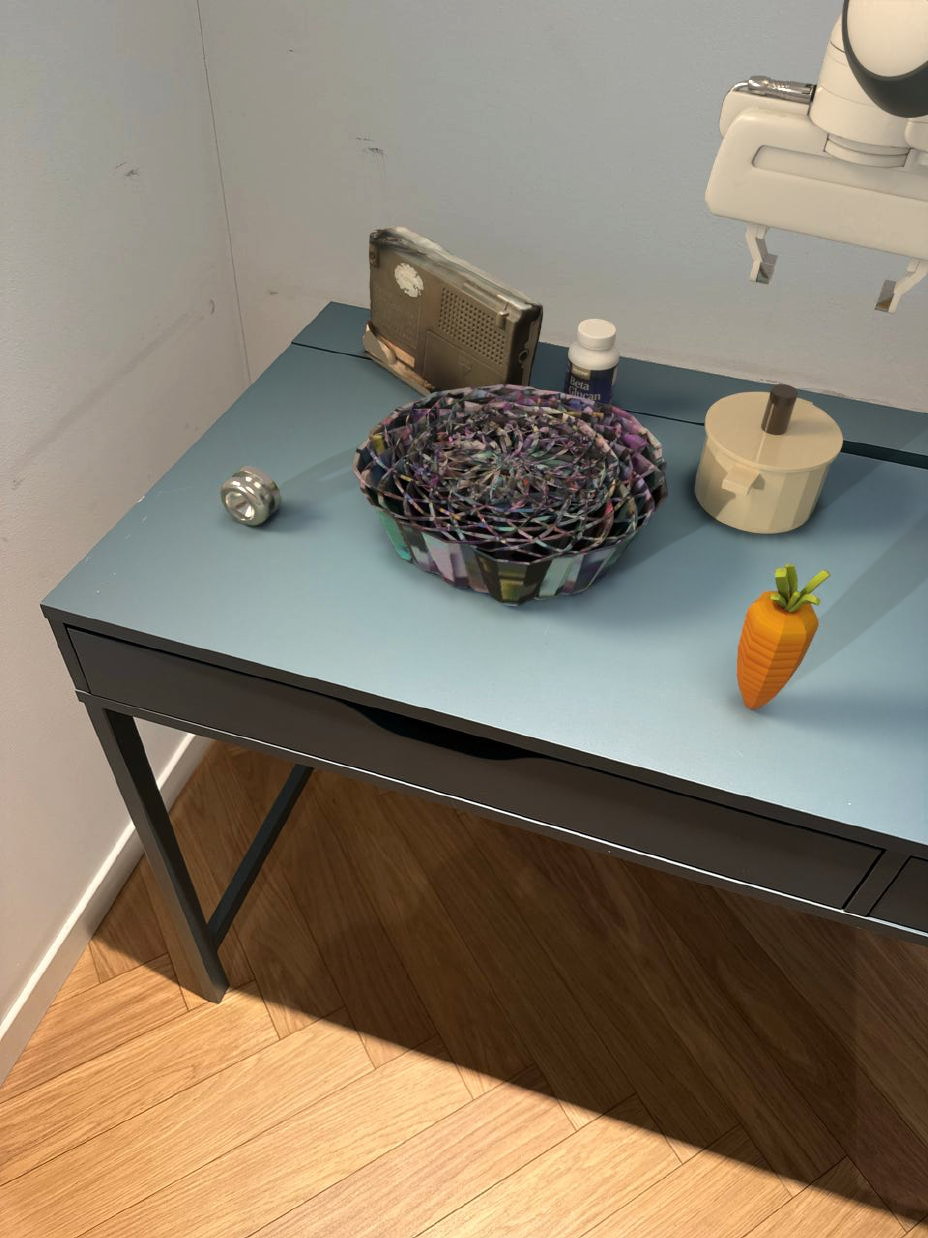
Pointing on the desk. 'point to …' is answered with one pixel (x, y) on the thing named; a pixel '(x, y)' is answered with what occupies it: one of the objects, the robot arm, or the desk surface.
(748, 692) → the carrot
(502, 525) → the decorative bowl
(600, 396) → the pill bottle
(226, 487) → the metal grooved wheel
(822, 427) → the pot lid
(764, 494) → the pot
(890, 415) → the desk surface
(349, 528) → the desk surface
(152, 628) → the desk surface
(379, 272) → the radio
